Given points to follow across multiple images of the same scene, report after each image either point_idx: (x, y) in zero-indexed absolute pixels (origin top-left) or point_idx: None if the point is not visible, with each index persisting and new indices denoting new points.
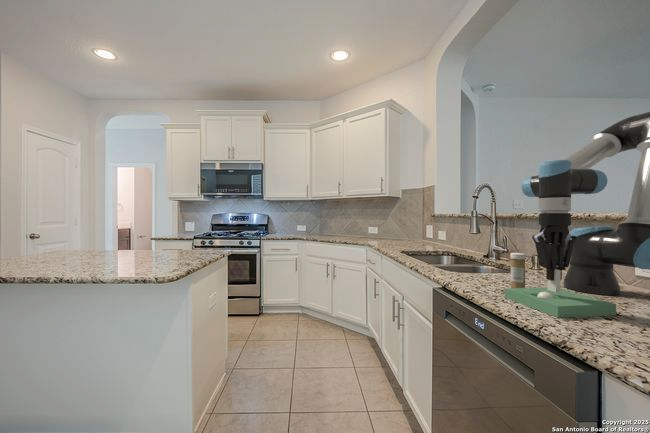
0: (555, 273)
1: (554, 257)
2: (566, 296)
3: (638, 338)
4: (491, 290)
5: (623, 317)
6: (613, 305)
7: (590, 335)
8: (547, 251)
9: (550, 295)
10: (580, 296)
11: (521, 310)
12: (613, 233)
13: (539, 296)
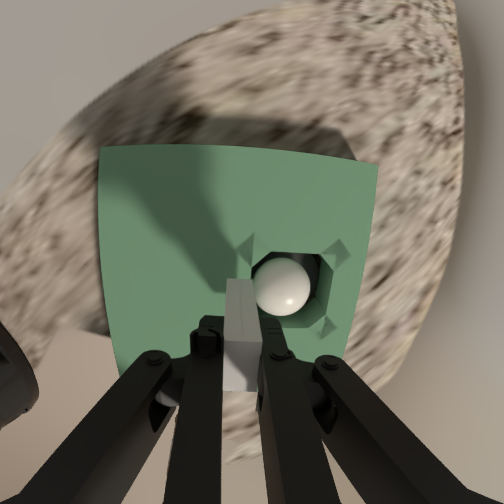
0: (260, 332)
1: (290, 417)
2: (193, 270)
3: (293, 7)
4: None
5: (120, 127)
6: (113, 146)
7: (395, 57)
8: (387, 452)
9: (283, 273)
10: (130, 259)
11: (399, 248)
12: None
13: (308, 293)
